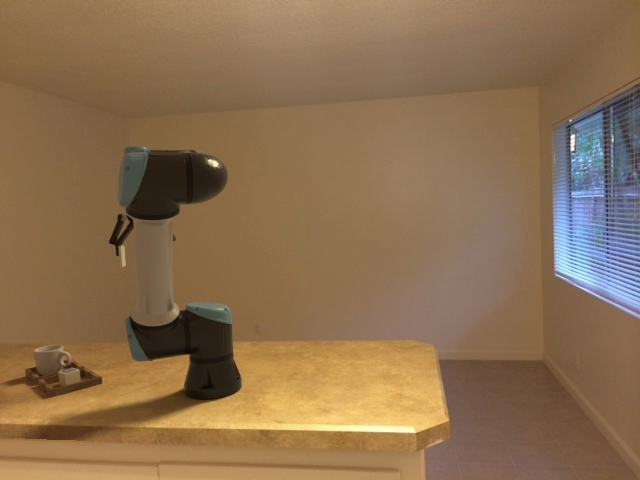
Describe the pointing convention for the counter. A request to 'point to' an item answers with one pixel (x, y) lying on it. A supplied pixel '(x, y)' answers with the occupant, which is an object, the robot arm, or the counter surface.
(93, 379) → the tray
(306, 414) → the counter surface
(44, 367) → the cup
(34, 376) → the tray
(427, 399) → the counter surface
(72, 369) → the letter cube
